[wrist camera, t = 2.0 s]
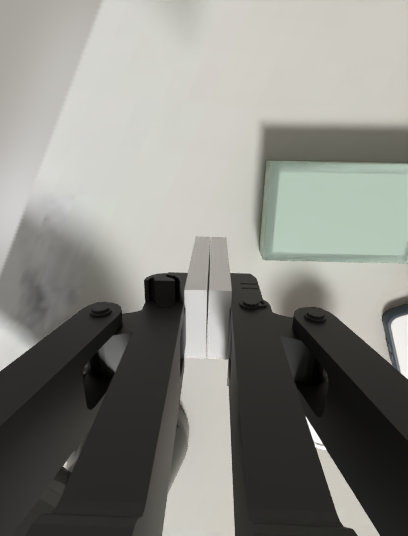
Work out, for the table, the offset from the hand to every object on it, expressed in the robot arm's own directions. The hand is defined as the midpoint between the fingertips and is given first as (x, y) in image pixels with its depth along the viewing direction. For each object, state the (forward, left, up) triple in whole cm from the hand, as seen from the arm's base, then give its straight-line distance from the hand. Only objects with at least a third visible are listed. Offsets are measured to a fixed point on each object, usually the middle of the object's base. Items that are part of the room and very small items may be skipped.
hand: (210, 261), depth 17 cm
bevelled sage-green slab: (+12, 0, -16) cm, 20 cm away
